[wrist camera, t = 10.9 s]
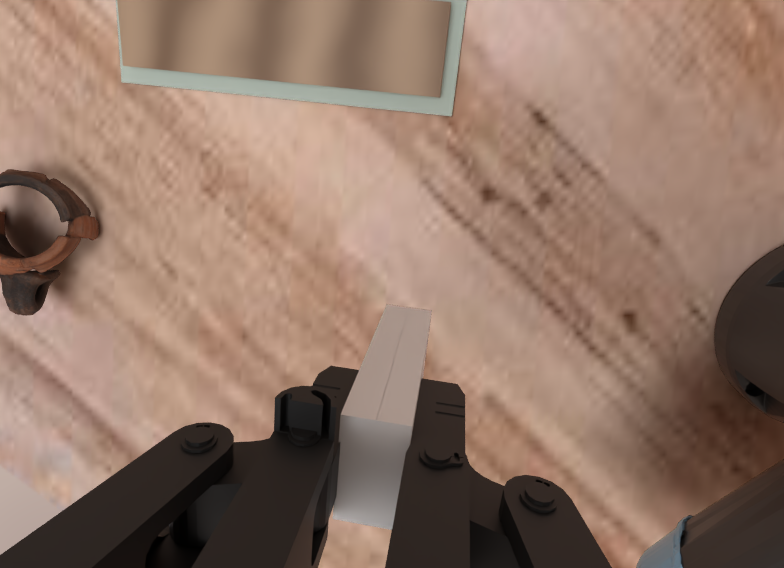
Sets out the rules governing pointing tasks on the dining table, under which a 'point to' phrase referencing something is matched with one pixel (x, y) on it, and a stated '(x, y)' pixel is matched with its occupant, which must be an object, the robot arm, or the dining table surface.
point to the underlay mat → (315, 91)
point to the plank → (293, 41)
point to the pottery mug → (14, 269)
